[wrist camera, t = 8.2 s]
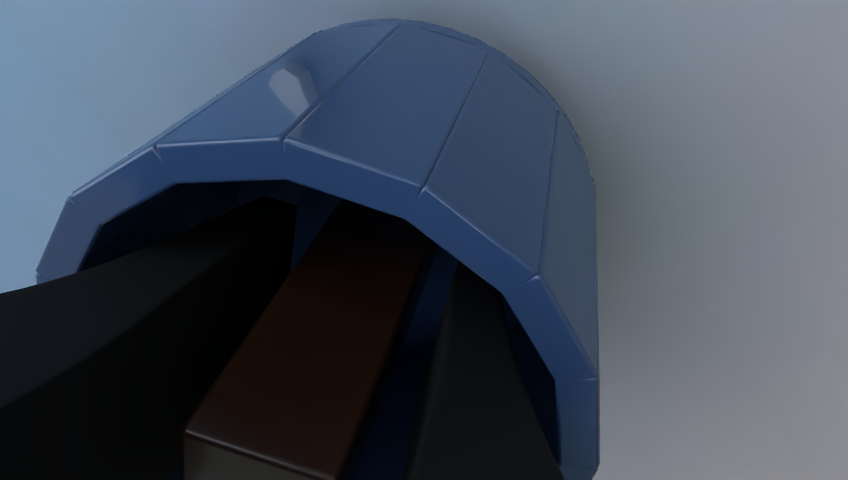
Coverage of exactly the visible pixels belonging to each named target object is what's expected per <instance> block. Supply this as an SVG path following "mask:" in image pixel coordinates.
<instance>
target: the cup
mask: <svg viewBox="0 0 848 480" xmlns="http://www.w3.org/2000/svg"><path fill="white" fill-rule="evenodd" d="M262 196H267V197H270V198H274V199H277V200H280V201H284V202H287V203H290V204H294V205H297V215H296V224H295V233H294V242H293V251H292V260H291V269H290V273H291V271H292V270H293V268H294V267H295V266H296V264H297V263H298V261H299V260H300V258H301V257H302V256H303V254H304V253H305V251H306V250H307V248H308V247H309V245H310V244H311V243H312V241H313V240H314V238H315V237H316V235H317V234H318V233H319V231H320V230H321V228H322V227H323V225H324V224H325V222H326V221H327V220H328V218H329V217H330V215H331V214H332V212H333V211H334V210H335V208H336V207H337V205H338V204H339V202H340V201H341V200H342V199H345V200H348V201H351V202H354V203H357V204H360V205H363V206H366V207H369V208H372V209H375V210H378V211H381V212H384V213H387V214H390V215H393V216H396V217H399V218H402V219H405V220H406V221H408V222H409V223H410V224H412V225H413V226H414V227H415V228H417V229H418V230H419V231H421V232H422V233H423V234H425V235H426V236H427V237H429V238H430V239H431V240H432V241H434V242H435V243H436V244H437V247H436V251H435V255H434V258H433V262H432V266H431V270H430V272H429V275H428V278H427V280H426V283H425V286H424V289H423V291H422V294H421V297H420V299H419V302H418V305H417V307H416V310H415V313H414V316H413V318H412V321H411V324H410V326H409V329H408V332H407V334H406V337H405V340H404V343H403V345H402V348H401V351H400V353H399V356H398V359H397V362H396V364H395V367H394V370H393V372H392V375H391V378H390V380H389V383H388V386H387V389H386V391H385V394H384V397H383V399H382V402H381V405H380V407H379V410H378V413H377V416H376V418H375V421H374V424H373V426H372V429H371V432H370V435H369V437H368V440H367V443H366V445H365V448H364V451H363V453H362V456H361V459H360V462H359V464H358V467H357V470H356V472H355V475H354V478H353V480H402V476H403V471H404V466H405V461H406V456H407V451H408V445H409V440H410V435H411V430H412V425H413V420H414V415H415V410H416V405H417V400H418V395H419V391H420V388H421V384H422V381H423V377H424V374H425V371H426V367H427V364H428V361H429V357H430V354H431V351H432V347H433V344H434V341H435V337H436V334H437V330H438V327H439V324H440V320H441V317H442V314H443V310H444V307H445V304H446V300H447V297H448V294H449V290H450V287H451V283H452V280H453V277H454V274H455V270H456V267H457V264H458V261H460V262H461V263H463V264H464V265H465V266H466V267H468V268H469V269H470V270H472V271H473V272H474V273H476V274H477V275H478V276H479V277H481V278H482V279H483V280H485V281H486V282H487V283H489V284H490V285H491V286H493V287H494V288H495V289H496V290H498V291H499V292H500V293H501V295H502V301H503V307H504V312H505V317H506V322H507V326H508V330H509V334H510V338H511V342H512V345H513V349H514V353H515V356H516V360H517V363H518V366H519V370H520V373H521V376H522V379H523V382H524V385H525V388H526V390H527V393H528V396H529V399H530V402H531V404H532V407H533V410H534V412H535V415H536V417H537V420H538V422H539V425H540V427H541V429H542V432H543V434H544V436H545V438H546V441H547V443H548V445H549V447H550V450H551V452H552V454H553V456H554V458H555V460H556V462H557V464H558V466H559V468H560V470H561V472H562V474H563V476H564V478H565V480H591V479H592V478H593V476H594V475H595V473H596V472H597V470H598V466H599V464H600V379H599V335H598V291H597V247H596V202H595V185H594V179H593V177H592V175H591V173H590V169H589V164H588V160H587V157H586V155H585V152H584V150H583V147H582V145H581V143H580V140H579V138H578V135H577V134H576V132H575V130H574V128H573V127H572V125H571V123H570V121H569V120H568V118H567V116H566V114H565V113H564V111H563V110H562V109H561V108H560V106H559V105H558V104H557V102H556V101H555V100H554V99H553V97H552V96H551V95H550V93H549V92H548V91H547V90H546V89H545V88H544V87H543V86H542V85H541V84H540V83H539V82H538V81H537V80H536V79H535V78H534V77H533V76H532V75H531V74H530V73H529V72H528V71H526V70H525V69H524V68H522V67H521V66H520V65H518V64H517V63H516V62H514V61H513V60H512V59H510V58H509V57H508V56H506V55H505V54H504V53H502V52H500V51H498V50H496V49H495V48H493V47H491V46H489V45H487V44H486V43H484V42H482V41H480V40H478V39H476V38H473V37H471V36H468V35H466V34H463V33H461V32H458V31H455V30H453V29H450V28H446V27H442V26H438V25H434V24H430V23H426V22H419V21H410V20H400V19H378V20H364V21H358V22H353V23H347V24H342V25H339V26H336V27H333V28H330V29H327V30H322V31H319V32H318V33H317V32H316V33H313V34H311V35H310V36H308V37H307V38H305V39H303V40H302V41H300V42H298V43H296V44H295V45H293V46H292V47H290V48H289V49H287V50H286V51H284V52H283V53H281V54H279V55H278V56H276V57H275V58H273V59H271V60H270V61H268V62H267V63H265V64H263V65H262V66H260V67H259V68H257V69H255V70H254V71H252V72H251V73H249V74H248V75H247V76H245V77H244V78H242V79H241V80H239V81H238V82H236V83H235V84H233V85H232V86H230V87H229V88H227V89H226V90H224V91H223V92H221V93H220V94H218V95H217V96H215V97H214V98H212V99H211V100H209V101H208V102H206V103H205V104H203V105H202V106H200V107H199V108H197V109H196V110H194V111H193V112H191V113H190V114H188V115H187V116H185V117H184V118H182V119H181V120H179V121H178V122H176V123H175V124H174V125H172V126H171V127H169V128H168V129H166V130H165V131H163V132H162V133H160V134H159V135H157V136H156V137H154V138H153V139H151V140H150V141H148V142H147V143H145V144H144V145H142V146H141V147H139V148H138V149H136V150H135V151H133V152H132V153H130V154H129V155H127V156H126V157H124V158H123V159H121V160H120V161H118V162H117V163H115V164H114V165H112V166H111V167H109V168H108V169H106V170H105V171H104V172H102V173H101V174H99V175H98V176H96V177H95V178H93V179H92V180H90V181H89V182H87V183H86V184H84V185H83V186H81V187H80V188H78V189H77V190H75V191H74V192H73V193H72V195H71V196H69V197H68V198H67V201H66V203H65V205H64V208H63V210H62V212H61V214H60V217H59V219H58V221H57V224H56V226H55V228H54V230H53V233H52V235H51V237H50V240H49V242H48V244H47V247H46V249H45V251H44V253H43V256H42V258H41V260H40V263H39V265H38V267H37V269H36V272H37V274H36V280H37V284H41V283H44V282H47V281H51V280H54V279H58V278H61V277H64V276H68V275H71V274H74V273H77V272H80V271H83V270H86V269H89V268H93V267H95V266H98V265H101V264H104V263H107V262H110V261H112V260H115V259H117V258H120V257H122V256H125V255H128V254H130V253H133V252H135V251H138V250H140V249H143V248H145V247H148V246H151V245H153V244H156V243H158V242H161V241H163V240H166V239H168V238H170V237H173V236H175V235H177V234H179V233H182V232H184V231H186V230H188V229H191V228H193V227H195V226H197V225H200V224H202V223H204V222H206V221H209V220H211V219H213V218H215V217H217V216H219V215H222V214H224V213H226V212H228V211H230V210H232V209H235V208H237V207H239V206H241V205H243V204H245V203H248V202H250V201H252V200H255V199H257V198H259V197H262ZM170 480H181V462H180V463H179V465H178V467H177V468H176V470H175V472H174V473H173V475H172V477H171V479H170Z"/></svg>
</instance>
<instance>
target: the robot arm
mask: <svg viewBox="0 0 848 480" xmlns="http://www.w3.org/2000/svg"><path fill="white" fill-rule="evenodd" d="M296 215H297V205H294V204H290V203H287V202H284V201H280V200H277V199H274V198H270V197H267V196H262V197H259V198H257V199H255V200H252V201H250V202H248V203H245V204H243V205H241V206H239V207H237V208H235V209H232V210H230V211H228V212H226V213H224V214H222V215H219V216H217V217H215V218H213V219H211V220H209V221H206V222H204V223H202V224H200V225H197V226H195V227H193V228H191V229H188V230H186V231H184V232H182V233H179V234H177V235H175V236H173V237H170V238H168V239H166V240H163V241H161V242H158V243H156V244H153V245H151V246H148V247H145V248H143V249H140V250H138V251H135V252H133V253H130V254H128V255H125V256H122V257H120V258H117V259H115V260H112V261H110V262H107V263H104V264H101V265H98V266H95V267H93V268H89V269H86V270H83V271H80V272H77V273H74V274H71V275H68V276H64V277H61V278H58V279H54V280H51V281H47V282H44V283H41V284H37V285H34V286H30V287H26V288H23V289H18V290H14V291H10V292H6V293H1V294H0V480H170V479H171V477H172V475H173V473H174V472H175V470H176V468H177V467H178V465H179V463H180V462H181V430H182V428H183V427H184V425H185V424H186V422H187V421H188V419H189V418H190V416H191V415H192V414H193V412H194V411H195V409H196V408H197V406H198V405H199V404H200V402H201V401H202V399H203V398H204V396H205V395H206V393H207V392H208V391H209V389H210V388H211V386H212V385H213V383H214V382H215V381H216V379H217V378H218V376H219V375H220V373H221V372H222V370H223V369H224V368H225V366H226V365H227V363H228V362H229V360H230V359H231V358H232V356H233V355H234V353H235V352H236V350H237V349H238V347H239V346H240V345H241V343H242V342H243V340H244V339H245V337H246V336H247V335H248V333H249V332H250V330H251V329H252V327H253V326H254V324H255V323H256V322H257V320H258V319H259V317H260V316H261V314H262V313H263V312H264V310H265V309H266V307H267V306H268V304H269V303H270V302H271V300H272V299H273V297H274V296H275V294H276V293H277V291H278V290H279V289H280V287H281V286H282V284H283V283H284V281H285V280H286V279H287V277H288V276H289V274H290V269H291V260H292V251H293V242H294V233H295V224H296ZM402 480H565V478H564V476H563V474H562V472H561V470H560V468H559V466H558V464H557V462H556V460H555V458H554V456H553V454H552V452H551V450H550V447H549V445H548V443H547V441H546V438H545V436H544V434H543V432H542V429H541V427H540V425H539V422H538V420H537V417H536V415H535V412H534V410H533V407H532V404H531V402H530V399H529V396H528V393H527V390H526V388H525V385H524V382H523V379H522V376H521V373H520V370H519V366H518V363H517V360H516V356H515V353H514V349H513V345H512V342H511V338H510V334H509V330H508V326H507V322H506V317H505V312H504V307H503V301H502V295H501V293H500V292H499V291H498V290H496V289H495V288H494V287H493V286H491V285H490V284H489V283H487V282H486V281H485V280H483V279H482V278H481V277H479V276H478V275H477V274H476V273H474V272H473V271H472V270H470V269H469V268H468V267H466V266H465V265H464V264H463V263H461V262H460V261H458V264H457V267H456V270H455V274H454V277H453V280H452V283H451V287H450V290H449V294H448V297H447V300H446V304H445V307H444V310H443V314H442V317H441V320H440V324H439V327H438V330H437V334H436V337H435V341H434V344H433V347H432V351H431V354H430V357H429V361H428V364H427V367H426V371H425V374H424V377H423V381H422V384H421V388H420V391H419V395H418V400H417V405H416V410H415V415H414V420H413V425H412V430H411V435H410V440H409V445H408V451H407V456H406V461H405V466H404V471H403V476H402Z"/></svg>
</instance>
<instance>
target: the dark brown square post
mask: <svg viewBox="0 0 848 480" xmlns="http://www.w3.org/2000/svg"><path fill="white" fill-rule="evenodd" d="M436 247H437V244H436V243H435V242H434V241H432V240H431V239H430V238H429V237H427V236H426V235H425V234H423V233H422V232H421V231H419V230H418V229H417V228H415V227H414V226H413V225H412V224H410V223H409V222H408V221H406V220H405V219H402V218H399V217H396V216H393V215H390V214H387V213H384V212H381V211H378V210H375V209H372V208H369V207H366V206H363V205H360V204H357V203H354V202H351V201H348V200H345V199H342V200H341V201H340V202H339V204H338V205H337V207H336V208H335V210H334V211H333V212H332V214H331V215H330V217H329V218H328V220H327V221H326V222H325V224H324V225H323V227H322V228H321V230H320V231H319V233H318V234H317V235H316V237H315V238H314V240H313V241H312V243H311V244H310V245H309V247H308V248H307V250H306V251H305V253H304V254H303V256H302V257H301V258H300V260H299V261H298V263H297V264H296V266H295V267H294V268H293V270H292V271H291V273H290V274H289V276H288V277H287V279H286V280H285V281H284V283H283V284H282V286H281V287H280V289H279V290H278V291H277V293H276V294H275V296H274V297H273V299H272V300H271V302H270V303H269V304H268V306H267V307H266V309H265V310H264V312H263V313H262V314H261V316H260V317H259V319H258V320H257V322H256V323H255V324H254V326H253V327H252V329H251V330H250V332H249V333H248V335H247V336H246V337H245V339H244V340H243V342H242V343H241V345H240V346H239V347H238V349H237V350H236V352H235V353H234V355H233V356H232V358H231V359H230V360H229V362H228V363H227V365H226V366H225V368H224V369H223V370H222V372H221V373H220V375H219V376H218V378H217V379H216V381H215V382H214V383H213V385H212V386H211V388H210V389H209V391H208V392H207V393H206V395H205V396H204V398H203V399H202V401H201V402H200V404H199V405H198V406H197V408H196V409H195V411H194V412H193V414H192V415H191V416H190V418H189V419H188V421H187V422H186V424H185V425H184V427H183V428H182V430H181V480H353V478H354V475H355V472H356V470H357V467H358V464H359V462H360V459H361V456H362V453H363V451H364V448H365V445H366V443H367V440H368V437H369V435H370V432H371V429H372V426H373V424H374V421H375V418H376V416H377V413H378V410H379V407H380V405H381V402H382V399H383V397H384V394H385V391H386V389H387V386H388V383H389V380H390V378H391V375H392V372H393V370H394V367H395V364H396V362H397V359H398V356H399V353H400V351H401V348H402V345H403V343H404V340H405V337H406V334H407V332H408V329H409V326H410V324H411V321H412V318H413V316H414V313H415V310H416V307H417V305H418V302H419V299H420V297H421V294H422V291H423V289H424V286H425V283H426V280H427V278H428V275H429V272H430V270H431V266H432V262H433V258H434V255H435V251H436Z"/></svg>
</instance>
